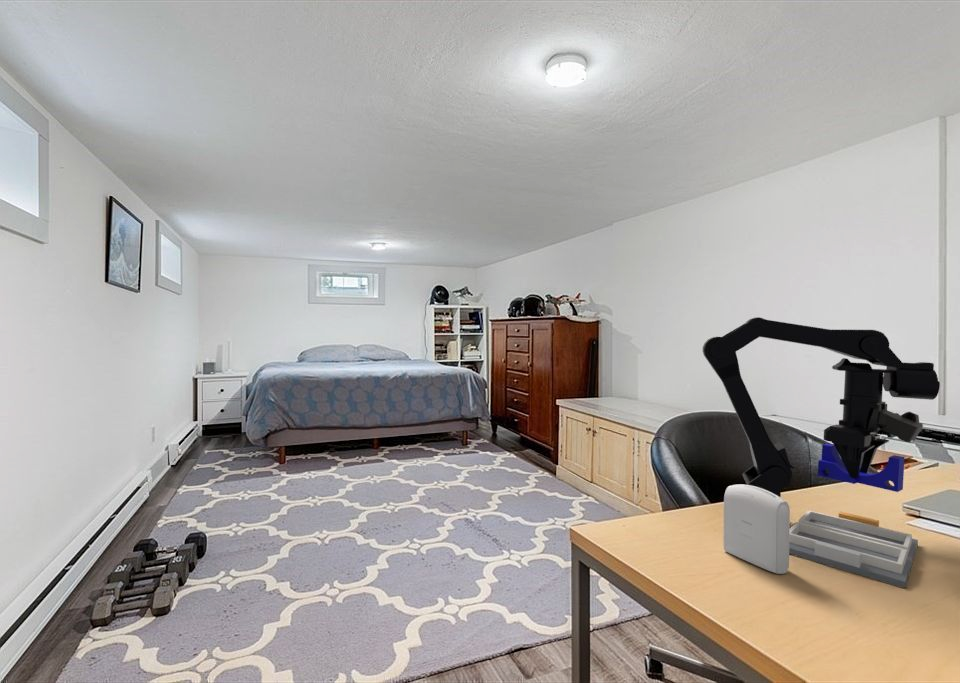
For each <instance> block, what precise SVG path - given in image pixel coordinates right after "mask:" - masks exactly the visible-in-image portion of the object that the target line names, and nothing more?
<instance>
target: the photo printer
mask: <svg viewBox="0 0 960 683" xmlns="http://www.w3.org/2000/svg"><path fill="white" fill-rule="evenodd" d="M790 513H791V510H790V505H789V503H788V502H787V501H786V500H785V499H784V498H782V497H781V498H780V497H779V496H777V495H775V494H773V493H772V492H769V491H767V490H765V489H762V488H759V487H755V486H751V485H747V484H741V483H740V484H732V485H729V486H727V487H726V489H725V492H724V496H723V550H724V551H725V552H727V553H728V554H730V555H733V556H734V557H737V558H739V559H741V560H743V561H746V562H748V563H750V564H752V565H754V566H757V567H759V568H762V569H764V570H766V571H769V572H771V573H774V574H777V575H784V574H786V573H788V572H789V571H788V570H789V567H790V554H789V532H790V530H789V529H790V528H791V526H790V525H791V524H790V521H791V520H790V519H791V518H790V517H791V514H790Z"/></svg>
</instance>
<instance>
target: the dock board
mask: <svg viewBox="0 0 960 683" xmlns="http://www.w3.org/2000/svg"><path fill="white" fill-rule="evenodd" d="M789 530H790V532H789V555H793V556H795V557H799V558H802V559H806V560H808V561H812V562H816V563H820V564H822V565H827V566H829V567H832V568H836V569H838V570H842V571H845V572H848V573H852V574H856V575H860V576H863V577H866V578H868V579H873V580H876V581H879V582H882V583H885V584H890V585H893V586H896V587H900V588H901V589H902V588H903V589H906V588H907V584H908V580H909V576H910V573H911V569H912V567H913V562H914V560H915V556H916V553H917V549H918V545H919V540H918V539H917V538H916V539H915V538H913V534H911V533H907V532H903V531H898V530H893V529H890V528H887V527H881V526H880V519H875V518H870V517H865V516H862V515H857V514H853V513H849V512H843V511H839V512H838V516H835V515H831V514H826V513H822V512H818V511H813V510H810V509H809V510H807V511H806V512H805V513H804V514H803V515H802V516H801V517H800V518H799V519H798V521H796V522H795V523H794V524H793V525H791V526H790V529H789Z"/></svg>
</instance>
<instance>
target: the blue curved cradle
mask: <svg viewBox="0 0 960 683" xmlns="http://www.w3.org/2000/svg"><path fill="white" fill-rule="evenodd" d="M904 473H905V456H900V455H896V454H894V455H891V456H889V457H888V461H887V464H886V465H885V467H884V468H883V469H882V470H881V471H879V472H875V473H872V472H871V473H870V472H869V473H862V472H860V473H859V476H858V478H857V479H855V478H851V477H850V475H849V473H848V471H847V469H846V467H845V465H844V463H843V461H842V459H841V457H840V455H839V453H838V451H837V449H836V447H835V446H834V444H833V443H829V442H827V443H825V444H822V446H821V459H819V460H818V463H817V476H818V477H823V478H826V479H832V480H836V481H840V482H844V483H848V484H852V485H854V484H861V485H864V486H865V485H866V486H870V487H875V488H879V489H882V490H887V491H891V492H896V493H899V492H901V491H902V490H904ZM890 482H892V483H893V485H892V484H891V483H890Z"/></svg>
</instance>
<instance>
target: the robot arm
mask: <svg viewBox="0 0 960 683" xmlns="http://www.w3.org/2000/svg"><path fill="white" fill-rule="evenodd" d="M759 338H765V339H771V340H777V341H781V342H783V341H784V342H789V343H794V344H801V345H806V346H813V347H819V348H822V349H826V350H829V351H831V352H834V353H836V354H840V355H842V356H846V357H849V358H852V359H855V360H856V359H857V360H862V361H866V362H867V363H866V362H852V361H850V360H849V359H848V358H846V357H843V358H841V360H839V361H838V362H837V363H836V364H834V365H833V366H831V369H832V370H835V371H842V372H843V371H844V389H843V398H839V405H843V406H842V419H839V420H838V424H833V425H830V426H828V427H826V428H825V429H824V430H823V441H826V442H831V444H834V446H835V447H836V449H837V451H838V453H839V456H840V457H841V459H842V461H843V463H844V465H845V467H846V469H847V471H848V473H849V475H850V477H851V478H855V479H857V478H858V476H859V473H860V472H862V473H868V472H869V470H870V467H871V465H872V463H873V459H874V458H875V455H876V453H877V450H878V448H880V447H881V446H882V447H883V445H885V444H888V443H889V442H890V440H889V439H893V438H898V440H901V441H903V442H906V443H911V442H912V441H913V442H914V441H915V440H916V439H917V437H918V436H919V434H920V432H922V431H923V427H924V424H923V422H920V416H919V414H916V413H914V412H911V411H906V412H904V413H902V414H900V413H899V412H898V413H897V412H896V413H895V412H893V411H890V410H888V403H886V401H883V389H884V391H885V392H888V393H889V394H890V396H891V397H892V398H900V399H901V398H903V399H916V400H917V399H918V400H919V399H920V400H935V399H936V398H937V396H938V394H939V391H940V386H941V385H940V383H941V382H940V381H939V377H938V374H937V372H936V371H935V368H934V367H935V363H933V362H927V361H925V362H924V361H921V362H920V361H919V362H903V361H902V360H900V358H899V357H898V356H897V355H896V353H895V352H894V351H893V350H892V349H891V348H890V342H889V339H888V337H887V336H886V335H885V333H884V332H883V331H879V330H877V329H876V330H875V329H830V328H829V329H828V328H822V327H816V326H809V325H803V324H796V323H789V322H784V321H783V322H782V321H776V320H771V319H766V318H763V317H760V316H759V317H752V318H749V319H748V320H747V321H746V322H745V323H743V324H741V325H740V326H738V327H736V328H735V329H733V330H731V331H729V332H728V333H726V334H724V335H722V336H713V337H710V338H708V339H706V341H705V342H704V344H703V346H702V353H703V356H704V358H705V359H706V361H707V362H708V363H709V365H710V367H711V368H712V370H713V371H714V372H715V373H716V375H717V377H718V378H719V379H720V381H721V382H722V385H723V387H724V389H725V391H726V393H727V396H728V398H729V401H730V403H731V405H732V407H733V409H734V411H735V414H736V415H737V419H738V420H739V423H740V425H741V427H742V429H743V431H744V433H745V436H746V438H747V441H748V444H749V448H750V454H751V459H752V463H753V465H751V466H750V467H749V468H748V469H747V470H745V471H744V472H742V477H743V480H744V482H745V485H751V486H755V487H759V488H762V489H765V490H767V491H769V492H772V493H773V494H775V495H777V496H779V497H780V498H782V496H781V495H782V494H781V492H782V490H783V488H786V487H787V486H788V485H789V484H790V483H792V480H793V476H794V474H793V471H792V469H795V466H794V465H793V464H792V463H791V462H790V460H789V457H788V453H787V449H786V448H785V447H784V446H783V445H782V443H780V442H779V441H778V442H776V443H774V444H773V442H772V440H771V439H770V437H769V435H768V432H767V430H766V428H765V426H764V424H763V421H762V420H761V417H760V415H759V413H758V411H757V409H756V407H755V404H754V401H753V399H752V398H751V395H750V393H749V391H748V389H747V386H746V385H745V384H746V383H744V380H743V378H742V375H741V371H740V370H741V369H740V365H739V360H738V356H737V351H739V350H741V349H743V348H744V347H747V345H749V344H750V343H752V342H753V341H755V340H757V339H759ZM871 364H872V365H876V366H882V367H886V368H885V369H883V368H872V365H871ZM881 436H886V437H887V438H889V439H886V438H881Z"/></svg>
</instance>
